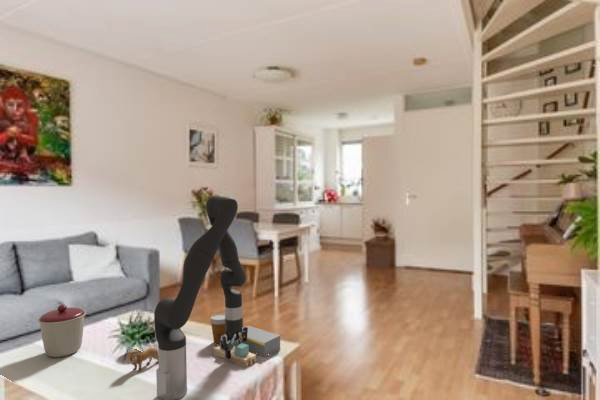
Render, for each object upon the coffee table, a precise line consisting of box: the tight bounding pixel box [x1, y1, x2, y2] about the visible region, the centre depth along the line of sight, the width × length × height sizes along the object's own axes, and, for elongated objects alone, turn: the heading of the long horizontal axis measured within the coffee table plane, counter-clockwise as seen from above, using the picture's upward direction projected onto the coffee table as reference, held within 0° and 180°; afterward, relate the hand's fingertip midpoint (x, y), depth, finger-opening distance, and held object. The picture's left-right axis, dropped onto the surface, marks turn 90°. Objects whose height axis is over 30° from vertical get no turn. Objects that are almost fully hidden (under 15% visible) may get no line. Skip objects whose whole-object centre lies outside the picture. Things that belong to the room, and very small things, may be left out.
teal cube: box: [234, 343, 250, 357], centre depth 158 cm, size 4×4×4 cm
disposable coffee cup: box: [209, 312, 226, 345], centre depth 177 cm, size 10×10×12 cm
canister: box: [37, 304, 87, 358], centre depth 168 cm, size 18×18×21 cm
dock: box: [233, 325, 281, 357], centre depth 172 cm, size 10×20×6 cm, turn 52°
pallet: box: [213, 345, 257, 368], centre depth 162 cm, size 6×20×3 cm, turn 52°
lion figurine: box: [127, 347, 159, 372], centre depth 154 cm, size 15×5×9 cm, turn 151°
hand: (234, 355), depth 162 cm, fingers closed on pallet, 6 cm apart
